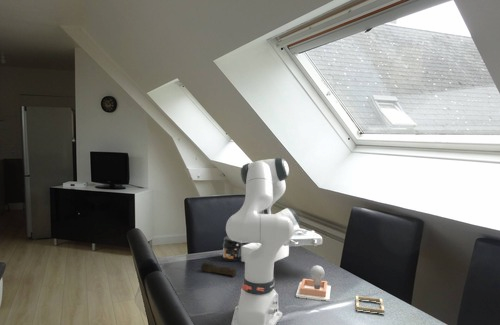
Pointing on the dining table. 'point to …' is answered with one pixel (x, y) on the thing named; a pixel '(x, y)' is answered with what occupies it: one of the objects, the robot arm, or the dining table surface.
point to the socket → (313, 290)
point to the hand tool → (218, 269)
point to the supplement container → (231, 250)
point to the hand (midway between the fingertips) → (306, 244)
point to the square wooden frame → (368, 307)
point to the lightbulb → (317, 275)
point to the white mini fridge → (251, 247)
